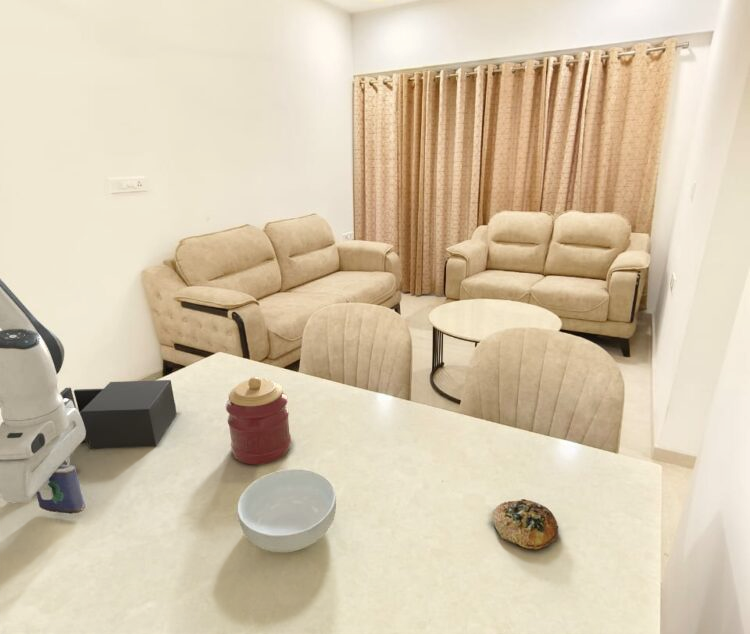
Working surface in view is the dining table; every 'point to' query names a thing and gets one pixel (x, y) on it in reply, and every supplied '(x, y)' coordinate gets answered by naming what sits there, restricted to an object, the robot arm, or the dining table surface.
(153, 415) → the dark grey box
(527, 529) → the bread roll
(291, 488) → the cereal bowl
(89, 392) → the open drawer
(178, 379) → the dining table surface
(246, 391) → the kitchen canister
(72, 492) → the flask
